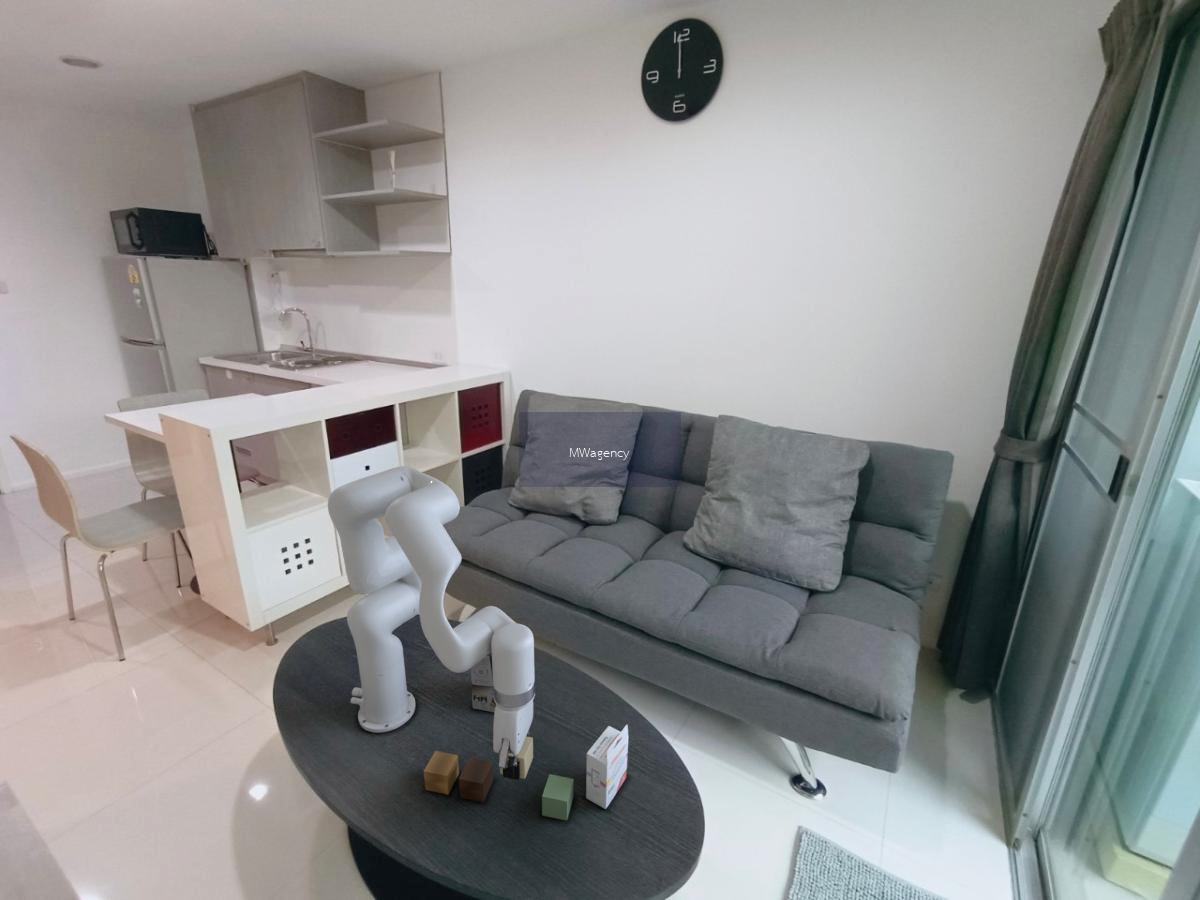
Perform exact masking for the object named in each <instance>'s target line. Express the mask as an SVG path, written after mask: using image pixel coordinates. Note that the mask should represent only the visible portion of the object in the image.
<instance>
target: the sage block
mask: <svg viewBox="0 0 1200 900" xmlns="http://www.w3.org/2000/svg"><path fill="white" fill-rule="evenodd" d="M574 782H575V781H574V778H570V777H566V776H560V775H556V774H551V773H549V775H548V777H547V780H546V783H545V786H544V789H543V792H542V795H541V815H542V816H543V817H547V818H552V819H558V820H561V821H566V822H567V821H568V819H569V815H570V811H571V809H572V804H573V800H574V786H575V785H574Z"/></svg>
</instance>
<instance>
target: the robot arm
mask: <svg viewBox="0 0 1200 900" xmlns="http://www.w3.org/2000/svg"><path fill="white" fill-rule="evenodd" d="M460 510H461V505H460V500H459V498H458V496H457V494H456V493H455V492H454V491H453V489H452V488H450V486H449V485H447V484H446V483H444V482H443V481H441V480H439V479H437V478H436V477H433V476H431V475H429V474H427V473H424V472H423V471H420V470H418V469H416V468H413V467H410V466H405V465H403V466H401V465H400V466H396V467H392V468H390V469H387V470H384V471H381V472H378V473H374V474H371V475H368V476H364V477H362V478H358V479H356V480H353V481H350V482H347V483H345V484H343V485H341V486H338V487H337V488H335V489H334V490H333V491H332V492H331V493H330V494H329V497H328V500H327V512H328V515H329V517H330V520H331V522H332V525H333V526H334V528H335V529H336V531H337V534H338V537H339V540H340V545H341V552H342V557H343V561H344V567H345V571H346V577H347V582H348V584H349V586H350V588H351V590H352V591H353V592H354V593H356V594H358V595H364V596H362V597H361V598H359V599H357V600H356V601H355V602H354V603H353V604H352V605H351V606H350V607H349V609H348V610H347V613H346V622H347V626H348V629H349V632H350V634H351V636H352V640H353V643H354V647H355V651H356V659H357V664H358V670H359V671H358V672H359V679H360V686H361V687H356V686H355V687H354V688H353V689H352V691H351V696H352V697H351V698H350V704H353V705H358V706H359V710H358V712H357V719H358V723H359V725H360V727H361V728H362V729H363V730H365V731H366V732H367V731H368V732H371V733H377V734H379V733H380V734H381V733H386V732H390V731H393V730H396V729H398V728H400V727H402V726H403V725H404V724H405V723H407V722H409V720H410V719H411V718H412V716H413V715H414V713H415V711H416V699H415V697H414V695H413V693H412V692H410V691H408V687H407V676H406V668H405V657H404V648H403V644H402V641H401V639H400V638H399V637H398V636H397V635H395V634H393V632H394V631H395V630H396V629H397V628H399V627H400V626H402V625H403V624H405V623H406V622H408V621H410V620H412V619H413V618H414V617H416V616H417V615H419V622H420V626H421V629H422V633H423V635H424V637H425V638H426V640H427V642H428V644H429V645H430V647H431V649H432V650H433V652H434V653H435V655H436V657H437V658H438V660H439V661H440V663H442V665H443V666H444V667H445V668H446V669H447V670H449V671H451V672H453V673H458V674H461V673H464V672H468V671H469V670H471V668H472V667H473V666H474V665H476V664H477V663H478V662H480V661H481V660H482V659H483V658H484V657H486V656H487V655H488V654H489V653H492V671H493V691H494V701H495V703H496V707H495V712H493V713H494V715H493V725H492V726H493V727H492V729H493V730H492V733H493V734H492V745H493V746H492V747H493V748H492V749H493V752H494V753H496V754H499V753H500V751H501V755H500V759H499V761H498V768H499V769H500V768H503V774H502V777H503V778H506V779H510V780H516V781H519V780H520V779H521V778H520V762H518V753H519V752H520V750H521V747H522V745H523V743H524V740H525V738H526V737H530V732H531V730H530V728H531V725H532V722H533V719H534V699H535V696H536V684H535V683H536V682H535V681H536V679H535V676H536V675H535V638H534V633H533V631H532V630H531V629H530V628H529V627H528V625H527V626H526V625H525V624H522V623H517V622H516V621H514V619H512V618H511V617H510V616H508V614H506V612H504V611H503V610H501V609H500V608H499V607H497V606H494V605H487V606H485V607H482V608H481V609H480V610H478V611H477V612H476V613H474V614H473V615H471V616H470V617H467V618H466V619H465V620H463V621H462V622H461V623H459V624H458V625H456V626H455V627H452V626H451V624H450V622H449V620H448V618H447V616H446V613H445V608H444V598H445V592H446V590H447V589H446V588H447V586H448V584H449V581H450V580H451V578H452V576H453V575H454V574H455V572H456V571H457V570H458V568H459V567H460V565H461V563H462V553H461V552H460V551H459V549H458V547H457V546H456V545H455V543H454V541H453V540H452V538H451V536H450V535H449V533H448V532H447V529H446V528H445V526H444V525H446V524H448V523H451V522H452V521H454V520H455V519H457V517H458V516H459V514H460ZM383 516H384V520H385V523H386V525H387V527H388V529H389V530H390V532H391V534H392V535H390V536H387V537H385V530H384V527H383V524H382V523H381V521H380V520H379V519H378V518H380V517H383ZM509 753H513V758H509V757H508V756H509Z"/></svg>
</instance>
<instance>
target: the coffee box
mask: <svg viewBox="0 0 1200 900" xmlns="http://www.w3.org/2000/svg"><path fill="white" fill-rule="evenodd" d="M470 679H471V699H472V702H471V703H472V709H475V710H480V711H486V712H489V713H495V707H496V703H495V701H494V691H493V671H492V653H489V654H488V655H487V656H486V657H484V658H483V659H482V660H481V661H480V662H478V663H477V664H476V665H474V666H473V667H472V668H470Z"/></svg>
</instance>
